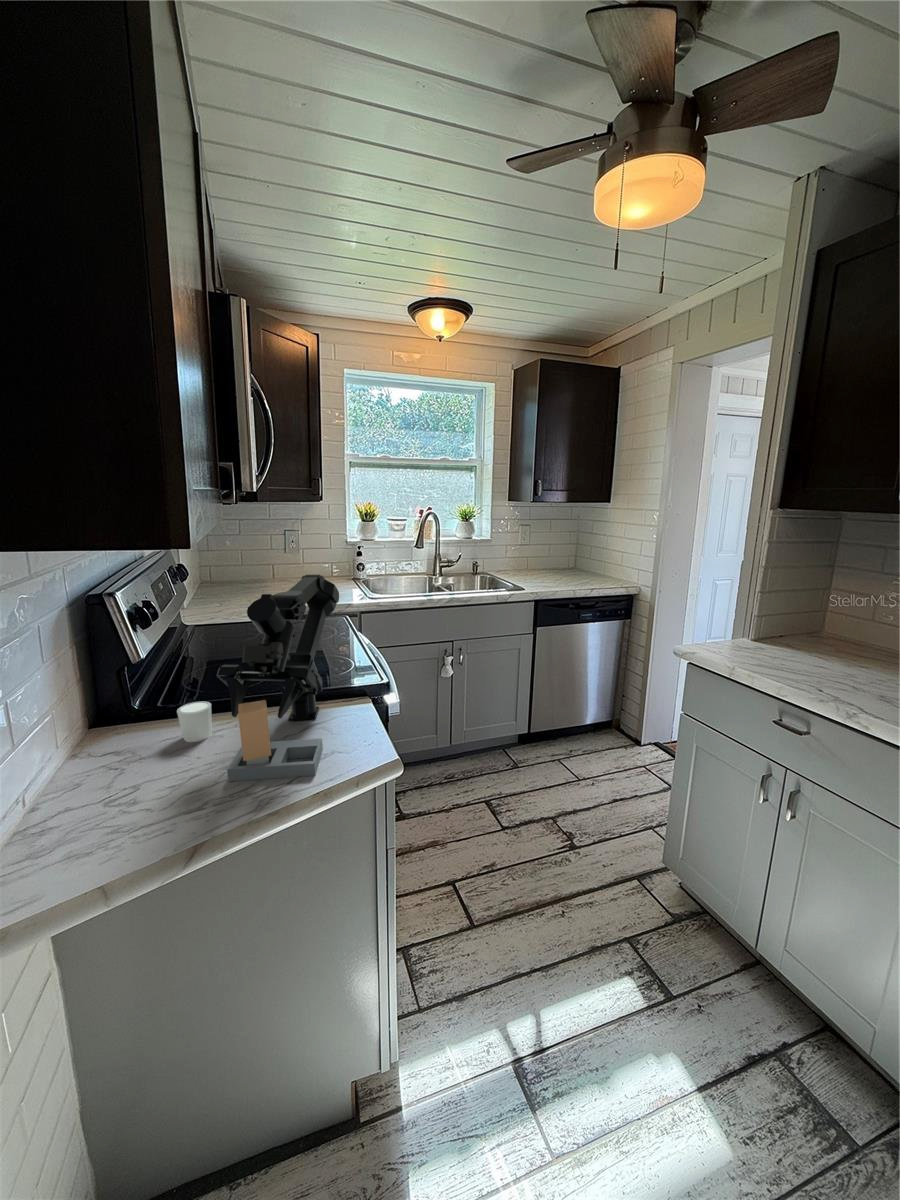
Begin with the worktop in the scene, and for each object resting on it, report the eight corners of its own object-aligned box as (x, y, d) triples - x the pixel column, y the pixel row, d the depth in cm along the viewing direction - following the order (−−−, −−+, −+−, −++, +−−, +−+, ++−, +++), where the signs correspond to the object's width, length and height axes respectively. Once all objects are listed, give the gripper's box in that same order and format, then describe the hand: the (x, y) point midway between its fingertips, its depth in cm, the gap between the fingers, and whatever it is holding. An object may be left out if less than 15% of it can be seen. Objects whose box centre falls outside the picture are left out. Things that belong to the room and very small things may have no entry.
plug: (244, 764, 97) (238, 704, 94) (271, 759, 99) (265, 699, 96) (245, 777, 92) (238, 714, 90) (272, 771, 94) (267, 709, 92)
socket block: (244, 754, 101) (243, 743, 100) (322, 749, 102) (322, 738, 102) (228, 781, 91) (227, 769, 91) (315, 775, 93) (314, 763, 92)
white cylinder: (200, 744, 105) (196, 714, 104) (173, 742, 106) (169, 712, 105) (221, 730, 112) (218, 702, 110) (195, 727, 113) (191, 699, 112)
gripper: (216, 626, 97) (189, 700, 88) (306, 627, 95) (288, 703, 87) (239, 652, 106) (217, 721, 98) (322, 653, 105) (307, 723, 96)
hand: (256, 717), depth 94 cm, fingers open, 9 cm apart
